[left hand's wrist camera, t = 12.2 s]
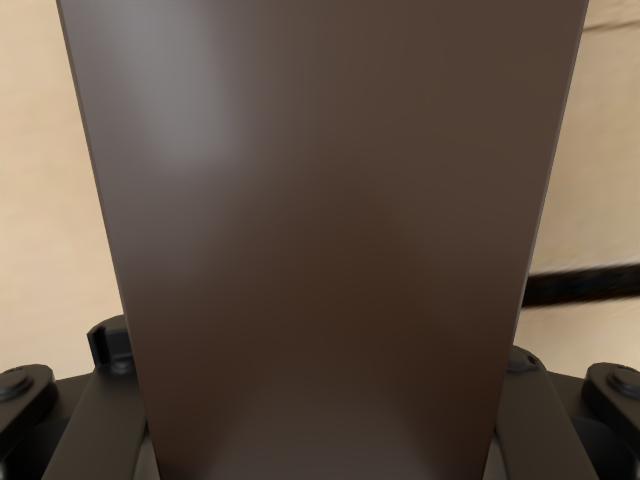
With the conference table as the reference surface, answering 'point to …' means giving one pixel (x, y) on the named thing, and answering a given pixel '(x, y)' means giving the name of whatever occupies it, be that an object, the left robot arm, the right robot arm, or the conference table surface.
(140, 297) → the beam
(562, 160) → the conference table surface
